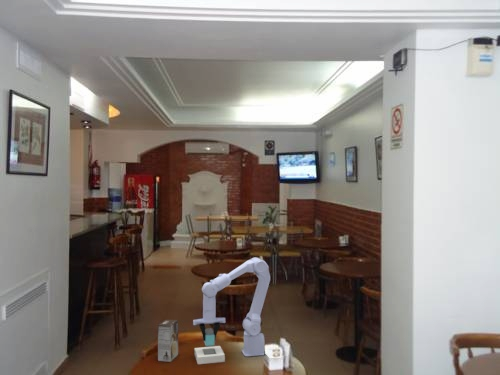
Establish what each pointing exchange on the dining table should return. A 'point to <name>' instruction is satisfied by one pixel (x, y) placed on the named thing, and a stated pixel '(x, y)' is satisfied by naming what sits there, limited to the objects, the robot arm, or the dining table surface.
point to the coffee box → (167, 340)
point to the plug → (209, 337)
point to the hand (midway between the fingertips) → (209, 339)
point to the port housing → (209, 355)
